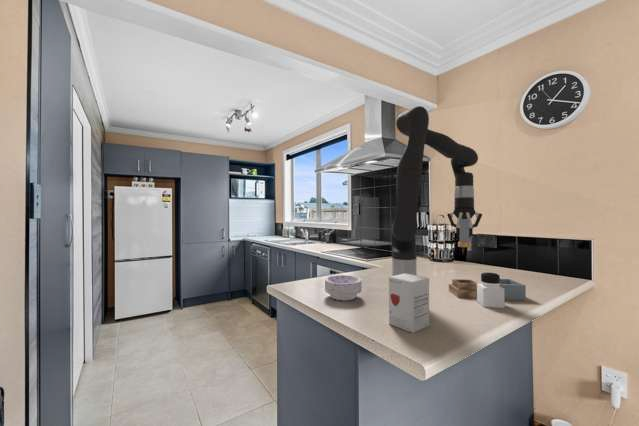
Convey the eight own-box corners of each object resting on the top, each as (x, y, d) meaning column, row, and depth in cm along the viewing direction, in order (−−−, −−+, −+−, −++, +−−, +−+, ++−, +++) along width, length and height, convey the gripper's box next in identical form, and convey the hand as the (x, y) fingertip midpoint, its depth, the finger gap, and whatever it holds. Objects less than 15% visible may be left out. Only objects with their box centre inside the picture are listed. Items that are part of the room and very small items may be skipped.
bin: (496, 299, 112) (496, 284, 112) (483, 291, 123) (483, 278, 123) (525, 300, 111) (525, 285, 111) (510, 292, 122) (509, 278, 122)
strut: (470, 247, 117) (470, 219, 117) (458, 247, 119) (457, 218, 119) (470, 246, 121) (470, 219, 121) (458, 246, 123) (457, 218, 123)
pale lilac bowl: (338, 305, 105) (338, 284, 105) (318, 296, 118) (318, 277, 118) (369, 299, 113) (369, 279, 113) (347, 290, 126) (347, 273, 126)
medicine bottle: (505, 308, 101) (504, 275, 101) (483, 307, 103) (483, 274, 103) (496, 302, 108) (496, 271, 108) (476, 301, 110) (476, 271, 110)
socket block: (457, 297, 115) (457, 284, 115) (448, 290, 125) (448, 278, 125) (482, 297, 114) (482, 284, 114) (472, 291, 124) (472, 279, 124)
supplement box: (387, 324, 87) (387, 276, 87) (405, 317, 93) (404, 272, 93) (413, 333, 80) (412, 281, 80) (430, 326, 85) (429, 277, 86)
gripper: (445, 196, 120) (445, 236, 120) (483, 195, 113) (484, 238, 113) (446, 197, 126) (446, 235, 126) (482, 197, 120) (482, 236, 120)
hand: (464, 236), depth 120 cm, fingers closed on strut, 3 cm apart
